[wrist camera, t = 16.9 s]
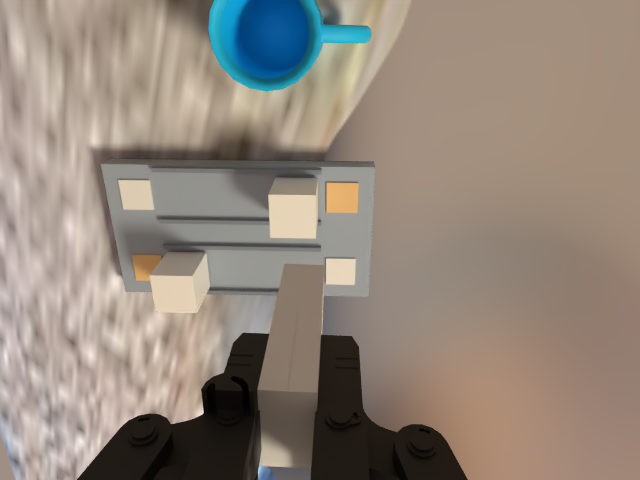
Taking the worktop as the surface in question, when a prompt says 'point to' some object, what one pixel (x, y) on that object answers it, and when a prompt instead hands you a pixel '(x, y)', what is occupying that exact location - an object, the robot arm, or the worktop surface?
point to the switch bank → (239, 221)
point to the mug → (273, 39)
